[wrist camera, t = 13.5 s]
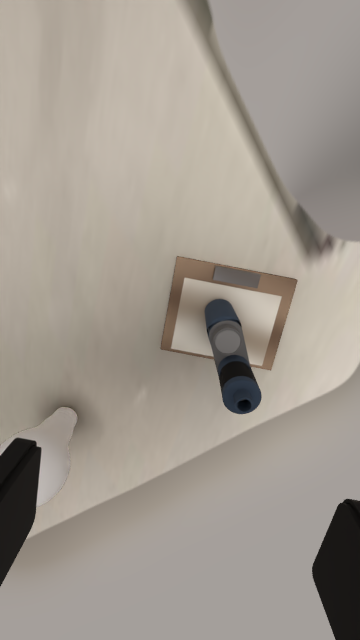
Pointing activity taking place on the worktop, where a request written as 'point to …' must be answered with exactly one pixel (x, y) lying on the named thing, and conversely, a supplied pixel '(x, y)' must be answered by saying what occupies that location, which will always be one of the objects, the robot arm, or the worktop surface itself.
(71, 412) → the lightbulb
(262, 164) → the worktop surface
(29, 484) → the robot arm
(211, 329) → the vaping device
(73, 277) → the worktop surface
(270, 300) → the clipboard
